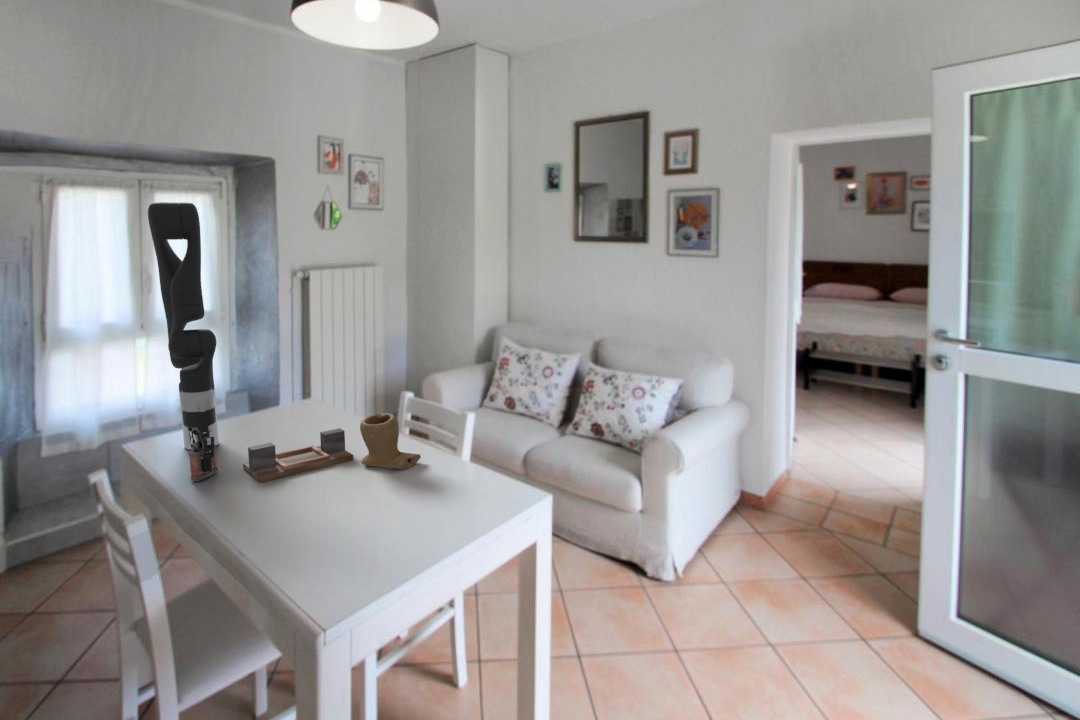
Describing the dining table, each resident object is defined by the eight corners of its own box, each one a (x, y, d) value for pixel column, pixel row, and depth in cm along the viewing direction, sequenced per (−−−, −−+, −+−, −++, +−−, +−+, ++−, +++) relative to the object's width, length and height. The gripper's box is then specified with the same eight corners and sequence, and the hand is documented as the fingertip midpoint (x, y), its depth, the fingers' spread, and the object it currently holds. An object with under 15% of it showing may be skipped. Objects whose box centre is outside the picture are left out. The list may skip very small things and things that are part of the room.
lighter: (198, 481, 159) (195, 444, 157) (187, 480, 160) (183, 443, 158) (220, 470, 167) (217, 434, 165) (209, 468, 168) (206, 433, 165)
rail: (243, 468, 170) (241, 442, 169) (333, 447, 188) (332, 424, 187) (260, 482, 161) (259, 455, 160) (353, 459, 179) (352, 434, 177)
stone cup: (352, 470, 171) (350, 418, 168) (375, 455, 183) (373, 406, 180) (401, 477, 167) (400, 424, 164) (421, 462, 178) (421, 412, 175)
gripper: (174, 402, 162) (180, 464, 165) (190, 415, 152) (196, 480, 155) (205, 397, 167) (210, 457, 171) (223, 410, 157) (228, 473, 161)
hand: (203, 468), depth 163 cm, fingers closed on lighter, 4 cm apart
